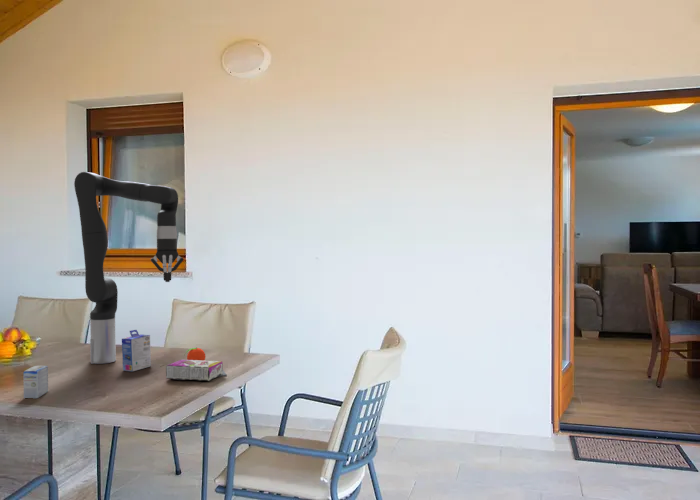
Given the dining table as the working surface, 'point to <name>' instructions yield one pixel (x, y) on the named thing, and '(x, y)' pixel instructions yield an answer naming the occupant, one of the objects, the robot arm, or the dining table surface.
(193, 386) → the dining table surface
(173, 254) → the robot arm
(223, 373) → the mat
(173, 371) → the candy bar box
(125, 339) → the ink cartridge box
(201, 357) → the clementine
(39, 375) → the medicine box
